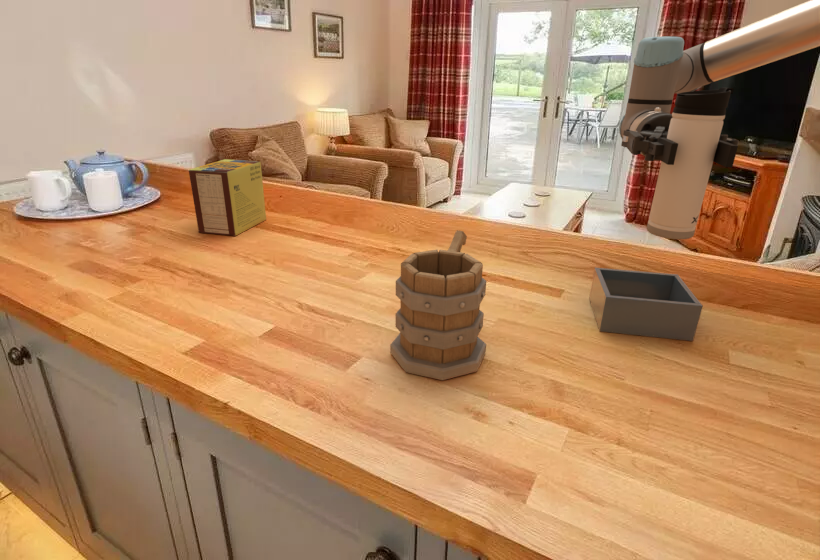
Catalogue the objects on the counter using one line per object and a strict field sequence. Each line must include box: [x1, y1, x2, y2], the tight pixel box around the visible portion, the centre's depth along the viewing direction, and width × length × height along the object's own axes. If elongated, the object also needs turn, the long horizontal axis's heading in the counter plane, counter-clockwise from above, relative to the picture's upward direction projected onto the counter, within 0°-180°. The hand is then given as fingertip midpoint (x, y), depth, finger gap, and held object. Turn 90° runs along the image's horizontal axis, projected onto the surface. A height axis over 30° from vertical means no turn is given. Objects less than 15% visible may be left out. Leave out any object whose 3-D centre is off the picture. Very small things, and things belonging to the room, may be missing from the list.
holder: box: [588, 267, 703, 342], centre depth 80 cm, size 14×13×6 cm
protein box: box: [188, 158, 267, 237], centre depth 123 cm, size 10×15×16 cm
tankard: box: [389, 229, 487, 381], centre depth 70 cm, size 20×13×15 cm, turn 160°
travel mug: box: [646, 87, 734, 240], centre depth 68 cm, size 6×7×20 cm
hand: (701, 155), depth 63 cm, fingers closed on travel mug, 6 cm apart
